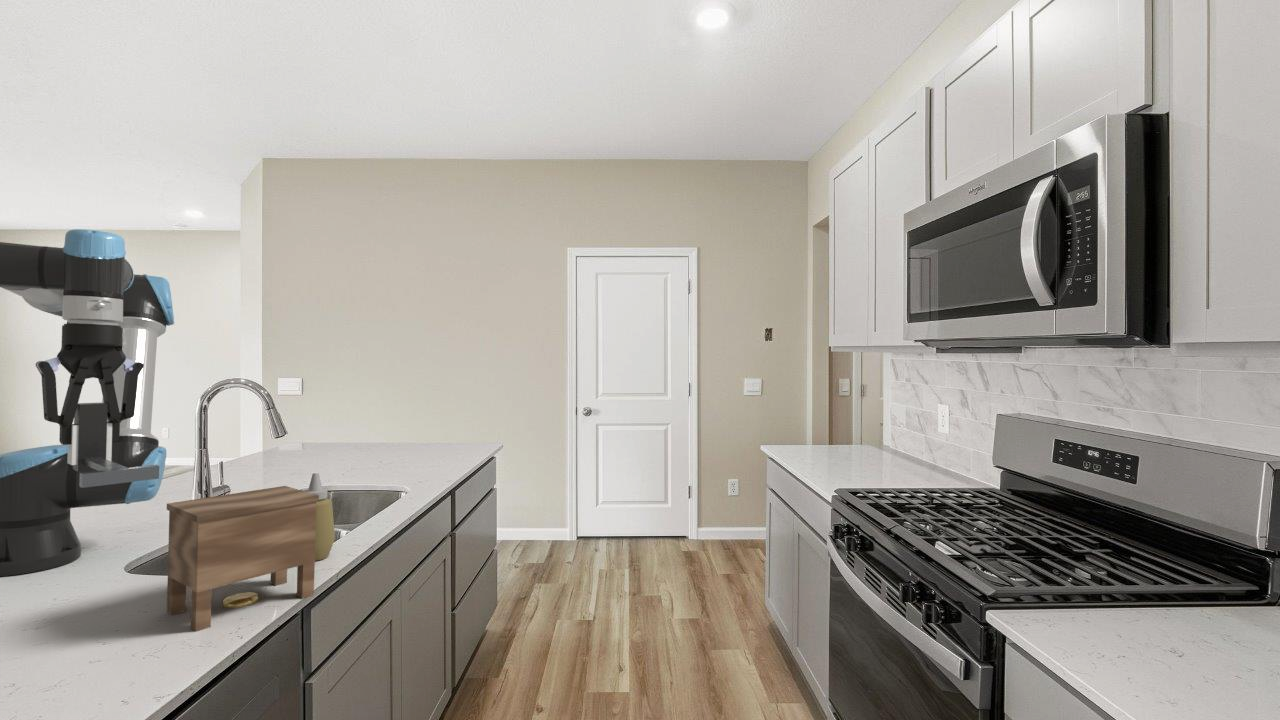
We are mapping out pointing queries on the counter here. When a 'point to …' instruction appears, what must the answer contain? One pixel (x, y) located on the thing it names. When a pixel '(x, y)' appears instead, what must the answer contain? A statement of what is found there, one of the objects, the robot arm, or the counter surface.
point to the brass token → (240, 600)
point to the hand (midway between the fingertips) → (89, 462)
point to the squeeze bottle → (322, 519)
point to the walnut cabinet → (238, 544)
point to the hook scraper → (102, 451)
